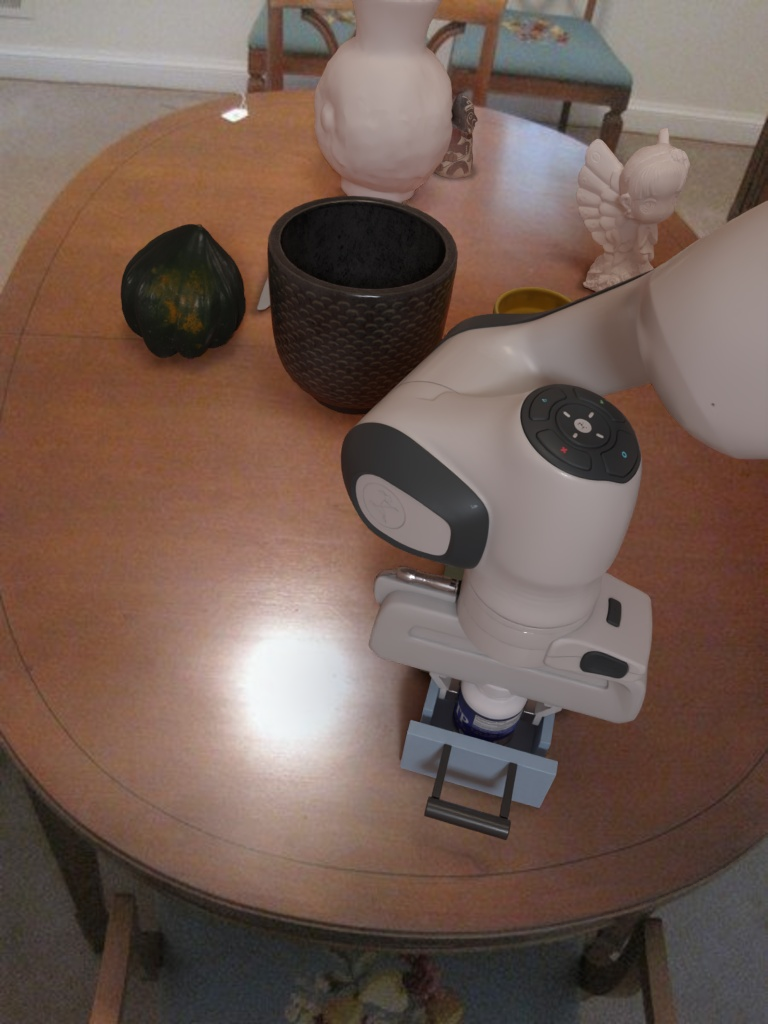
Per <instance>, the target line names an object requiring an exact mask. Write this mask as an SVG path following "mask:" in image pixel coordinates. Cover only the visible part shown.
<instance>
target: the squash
mask: <svg viewBox="0 0 768 1024" xmlns="http://www.w3.org/2000/svg"><path fill="white" fill-rule="evenodd" d="M120 302H121V311H122V315H123V317H124V320H125V323H126V324H127V326H128V327H129V329H130V330H131V331H132V332H133V333H134V334H135V335H137V336H138V337H139V338H142V340H143V343H144V345H145V346H146V348H147V350H148V351H149V352H150V353H151V354H152V355H154V356H155V357H157V358H160V359H168V358H171V357H174V356H175V355H177V354H178V353H179V354H180V355H181V356H182V357H183V358H185V359H188V360H193V359H194V360H195V359H197V358H199V357H201V356H202V355H203V354H204V353H206V351H207V350H208V349H212V350H213V349H217V348H220V347H223V346H226V344H227V343H228V342H229V341H230V340H231V338H232V337H233V336H234V334H235V332H236V331H238V329H239V328H240V326H241V324H242V322H243V320H244V317H245V315H246V309H247V299H246V295H245V284H244V279H243V276H242V274H241V272H240V268H239V266H238V265H237V263H236V261H235V260H234V259H233V257H232V256H231V255H230V254H229V252H227V251H226V250H225V249H224V248H223V247H222V245H221V244H219V242H218V241H216V239H215V238H214V237H213V236H212V234H211V233H210V232H209V231H208V230H207V229H206V227H204V226H203V225H202V224H201V223H198V224H197V223H188V224H183V225H180V226H177V227H175V228H172V229H170V230H167V231H163V233H161V234H159V235H157V236H156V237H154V238H153V239H151V240H150V241H149V242H148V243H147V244H146V245H145V246H143V247H142V248H141V249H140V250H138V251H137V252H136V253H135V254H134V255H133V257H132V258H131V259H129V261H128V263H127V264H126V265H125V268H124V271H123V274H122V277H121V284H120Z"/></svg>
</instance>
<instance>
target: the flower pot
mask: <svg viewBox="0 0 768 1024" xmlns="http://www.w3.org/2000/svg"><path fill="white" fill-rule="evenodd" d="M573 301H574V300H572V299H570V298H569V297H567V296H566V295H564V294H562V293H561V292H557V291H556V290H552V289H549V288H545V287H538V286H521V287H515V288H511V289H508V290H506V291H504V292H503V293H501V294H500V295H499V296H498V297H497V299H496V300H495V302H494V305H493V309H492V314H500V313H502V314H530V313H539V312H544V311H548V310H552V309H555V308H558V307H560V306H563V305H565V304H568V303H570V302H573Z"/></svg>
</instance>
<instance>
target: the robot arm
mask: <svg viewBox="0 0 768 1024" xmlns="http://www.w3.org/2000/svg"><path fill="white" fill-rule="evenodd" d="M572 301H573V302H570V303H568V304H565V305H563V306H560V307H558V308H555V309H552V310H548V311H544V312H539V313H530V314H502V313H500V314H493V313H485V314H479V315H474V316H471V317H468V318H466V319H464V320H461V321H460V322H458V323H456V324H455V325H454V326H453V327H452V328H451V329H450V330H449V331H448V332H447V333H446V334H445V336H443V337H442V340H441V341H440V342H439V344H438V345H437V346H436V347H435V348H434V349H433V350H432V352H431V353H430V354H429V356H428V357H427V358H426V359H424V360H423V361H422V362H421V363H420V364H419V365H418V366H417V367H416V368H415V369H414V370H413V371H412V372H410V373H409V374H408V375H407V376H406V377H405V378H404V379H403V380H402V381H401V382H400V383H399V384H398V385H396V386H395V387H394V388H393V389H392V390H391V391H390V392H389V393H388V394H387V395H386V396H385V397H384V398H383V399H382V400H381V401H380V402H379V403H378V404H376V405H375V406H374V407H373V408H372V409H371V410H370V411H369V412H368V413H367V414H364V415H363V417H361V419H360V420H359V421H358V422H356V424H355V425H354V426H353V427H352V428H350V429H349V431H348V432H347V433H346V434H345V436H344V438H343V441H342V444H341V449H340V469H341V475H342V481H343V483H344V488H345V491H346V494H347V495H348V497H349V499H350V502H351V504H352V506H353V508H354V510H355V512H356V513H357V515H358V516H359V518H360V520H361V522H363V524H364V525H365V527H367V529H368V530H369V531H371V532H372V533H373V534H374V535H376V536H377V537H378V538H380V539H381V540H383V541H384V542H386V543H388V544H389V545H390V546H392V547H394V548H396V549H398V550H400V551H402V552H405V553H407V554H410V555H412V556H415V557H418V558H422V559H425V560H428V561H431V562H435V563H438V564H441V565H445V566H446V565H448V566H451V567H455V568H461V569H465V570H464V574H463V578H462V580H461V581H460V580H457V579H454V578H450V577H446V576H443V574H437V573H431V572H424V571H421V570H418V569H417V568H415V567H411V566H407V565H399V566H398V568H397V569H396V568H388V569H382V570H379V572H378V573H377V574H376V576H375V578H374V583H373V597H374V600H376V602H377V603H378V604H379V607H378V610H377V613H376V616H375V619H374V622H373V624H372V629H371V632H370V636H369V640H368V646H369V648H370V650H371V651H372V653H374V655H375V656H376V657H378V658H380V659H381V660H385V661H388V662H391V663H395V664H396V663H397V664H400V665H404V666H407V667H410V668H415V669H418V670H420V669H421V670H425V671H429V672H430V673H428V674H429V675H428V676H430V678H432V679H433V680H434V682H435V683H436V684H437V686H438V687H439V688H440V692H439V696H438V698H440V699H444V698H445V699H444V700H448V701H452V702H456V700H457V697H458V693H459V689H460V684H461V681H465V682H469V683H472V684H476V685H480V686H484V685H487V684H489V685H493V686H497V687H500V688H504V689H507V690H509V692H510V694H512V695H516V696H519V697H523V698H527V701H526V705H525V707H524V709H523V712H522V714H521V717H520V721H524V722H527V723H530V724H534V725H537V726H538V725H539V723H540V721H541V718H542V716H543V717H545V716H547V715H550V714H553V713H555V714H557V713H559V712H561V711H562V710H567V711H571V712H573V713H578V714H581V715H585V716H588V717H593V718H596V719H599V720H604V721H607V722H610V723H613V724H625V723H629V722H633V721H635V720H636V719H637V718H638V715H639V713H640V712H641V710H642V707H643V704H644V701H645V698H646V693H647V686H648V685H647V684H648V673H649V672H648V671H649V661H650V656H651V649H652V643H653V625H654V624H653V607H652V599H651V597H650V596H649V595H648V594H647V593H646V592H644V591H642V590H641V589H638V588H636V587H634V586H633V585H631V584H629V583H626V582H625V581H623V580H621V579H619V578H617V577H616V576H613V575H612V574H610V573H609V572H607V571H608V570H609V569H610V567H612V565H613V563H614V562H615V560H616V558H617V556H618V554H619V552H620V549H621V547H622V546H623V542H624V540H625V538H626V535H627V533H628V529H629V527H630V525H631V522H632V518H633V516H634V512H635V508H636V506H637V501H638V499H639V498H638V497H639V493H640V488H641V482H642V475H643V474H642V473H643V456H642V450H641V449H642V448H641V444H640V442H639V438H638V436H637V433H636V431H635V429H634V428H633V426H632V424H631V422H630V420H629V419H628V418H627V417H626V416H625V414H624V413H623V412H622V411H621V410H620V409H619V408H618V407H617V406H616V405H615V404H613V403H612V402H611V401H610V400H608V399H606V398H605V397H606V396H611V395H613V394H617V393H621V392H625V391H628V390H633V389H636V388H640V387H643V386H648V385H651V386H652V388H653V390H654V391H655V393H656V395H657V397H658V398H659V400H660V403H662V405H663V407H664V408H665V410H666V411H667V413H668V414H669V415H670V417H672V419H673V420H674V421H675V423H677V425H679V426H680V427H681V428H682V429H683V430H684V431H685V432H686V433H687V434H689V435H690V436H691V437H692V438H693V439H695V440H696V441H698V442H700V443H701V444H703V445H704V446H706V447H707V448H710V449H712V450H714V451H716V452H718V453H720V454H722V455H725V456H728V457H730V458H733V459H736V460H768V200H765V201H764V202H761V203H760V204H758V205H756V206H754V207H751V208H750V209H749V210H747V211H745V212H743V213H741V214H740V215H738V216H736V217H734V218H732V219H731V220H729V221H727V222H725V223H723V224H722V225H720V226H718V227H716V228H715V229H713V230H710V232H708V233H706V234H704V235H703V236H701V237H699V239H697V240H695V241H694V242H692V243H691V244H689V245H688V246H686V247H685V248H684V249H682V250H681V251H679V252H678V253H676V254H675V255H673V256H671V258H669V259H668V260H666V261H665V262H663V263H662V264H659V266H657V267H655V268H654V269H653V270H650V271H647V272H645V273H642V274H640V275H637V276H635V277H632V278H630V279H627V280H625V281H622V282H620V283H617V284H615V285H613V286H610V287H608V288H605V289H603V290H600V291H598V292H595V291H594V292H593V293H590V294H588V295H586V296H583V297H580V298H578V299H576V300H572Z"/></svg>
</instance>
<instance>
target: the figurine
mask: <svg viewBox="0 0 768 1024" xmlns="http://www.w3.org/2000/svg"><path fill="white" fill-rule="evenodd" d="M452 103H453V105H452V110H451V111H452V119H451V122H452V136H451V141H450V144H449V148H448V150H447V152H446V154H445V155H444V157H443V160H442V162H441V163H440V164H439V165H438V167H437V168H436V170H435V171H434V172H433V173H435V174H437V175H438V176H440V177H444V178H448V179H452V178H453V179H458V178H466V177H469V176H470V175H471V174H472V173H473V162H474V153H473V143H474V141H473V140H474V139H473V132H474V130H475V127H476V123H477V122H478V120H479V119H478V117H477V115H476V114H475V106H474V104H473V101H472V100H471V98H470V97H469V96H468V95H467V94H466V93H465V92H460V93H458V94H457V95H456V96H455V97H454V95H453V94H452Z"/></svg>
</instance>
